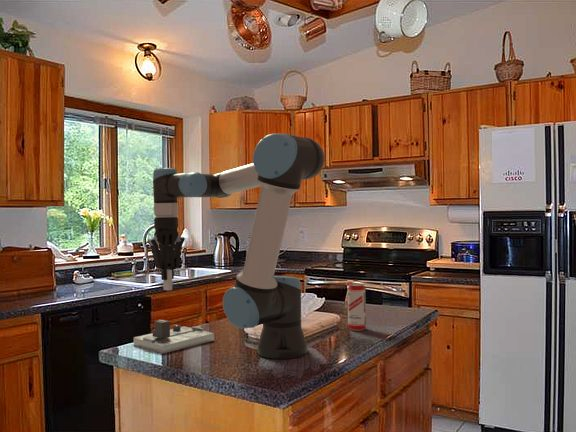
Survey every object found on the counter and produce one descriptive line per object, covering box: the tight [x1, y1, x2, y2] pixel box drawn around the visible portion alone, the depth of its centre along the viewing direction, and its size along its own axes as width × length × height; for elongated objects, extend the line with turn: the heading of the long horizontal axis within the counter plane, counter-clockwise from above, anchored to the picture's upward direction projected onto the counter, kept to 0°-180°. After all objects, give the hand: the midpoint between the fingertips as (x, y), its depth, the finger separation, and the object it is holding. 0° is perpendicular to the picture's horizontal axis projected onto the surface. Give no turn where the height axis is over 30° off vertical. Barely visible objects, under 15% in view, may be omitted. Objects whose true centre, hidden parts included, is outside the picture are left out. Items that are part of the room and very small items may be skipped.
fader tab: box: [154, 319, 171, 339], centre depth 167 cm, size 4×3×5 cm
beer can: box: [347, 282, 367, 332], centre depth 185 cm, size 6×6×16 cm
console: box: [133, 324, 215, 355], centre depth 171 cm, size 16×20×4 cm
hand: (167, 289), depth 169 cm, fingers closed
